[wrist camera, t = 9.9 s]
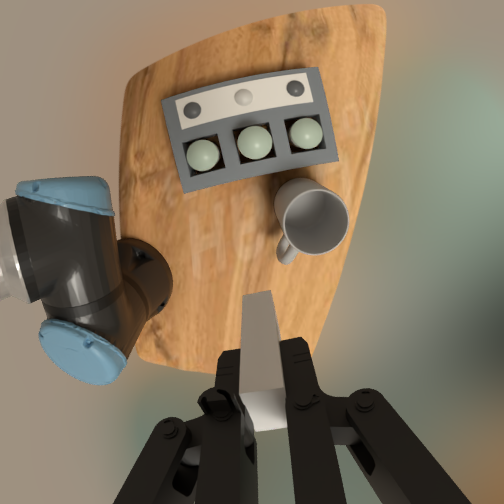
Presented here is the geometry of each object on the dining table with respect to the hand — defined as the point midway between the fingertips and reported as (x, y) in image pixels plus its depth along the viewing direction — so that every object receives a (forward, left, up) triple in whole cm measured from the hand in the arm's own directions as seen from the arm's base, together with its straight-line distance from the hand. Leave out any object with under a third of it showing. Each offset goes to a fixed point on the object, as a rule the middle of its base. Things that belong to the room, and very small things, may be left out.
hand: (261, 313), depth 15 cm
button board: (+2, +12, -29) cm, 32 cm away
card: (+2, +16, -25) cm, 29 cm away
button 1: (+9, +9, -28) cm, 31 cm away
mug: (+6, -3, -30) cm, 30 cm away
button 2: (-5, +9, -28) cm, 30 cm away
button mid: (+2, +9, -26) cm, 28 cm away
